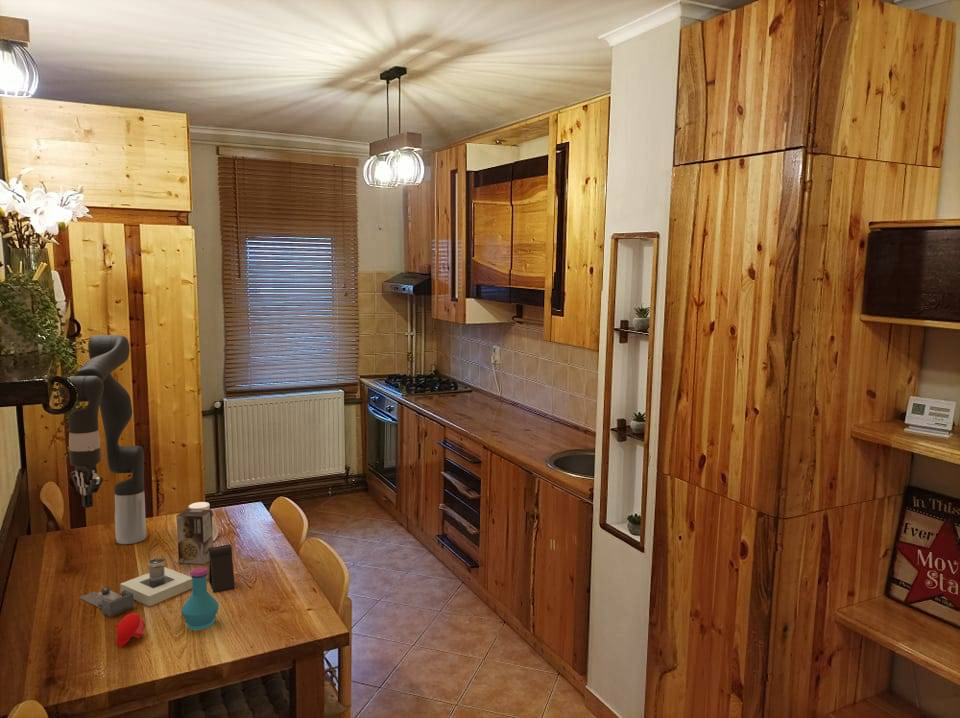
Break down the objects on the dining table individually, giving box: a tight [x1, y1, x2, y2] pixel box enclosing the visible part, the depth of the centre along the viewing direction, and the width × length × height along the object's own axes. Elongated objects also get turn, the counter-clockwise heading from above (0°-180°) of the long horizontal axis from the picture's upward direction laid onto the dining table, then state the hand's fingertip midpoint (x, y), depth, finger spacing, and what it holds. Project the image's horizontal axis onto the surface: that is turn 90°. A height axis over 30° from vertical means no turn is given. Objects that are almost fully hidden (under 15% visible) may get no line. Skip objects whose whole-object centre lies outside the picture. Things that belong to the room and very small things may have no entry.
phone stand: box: [207, 544, 236, 593], centre depth 206 cm, size 9×6×12 cm, turn 30°
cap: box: [115, 612, 146, 648], centre depth 174 cm, size 8×6×6 cm
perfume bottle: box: [181, 566, 220, 631], centre depth 182 cm, size 9×9×15 cm
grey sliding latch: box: [78, 590, 135, 618], centre depth 193 cm, size 18×7×4 cm, turn 58°
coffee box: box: [175, 508, 214, 565], centre depth 223 cm, size 9×6×16 cm
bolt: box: [96, 586, 122, 605], centre depth 191 cm, size 8×3×4 cm, turn 58°
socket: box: [119, 566, 193, 607], centre depth 201 cm, size 14×14×3 cm
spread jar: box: [188, 501, 219, 541], centre depth 241 cm, size 12×11×12 cm
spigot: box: [147, 557, 166, 588], centre depth 201 cm, size 5×5×9 cm
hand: (87, 506), depth 193 cm, fingers closed
